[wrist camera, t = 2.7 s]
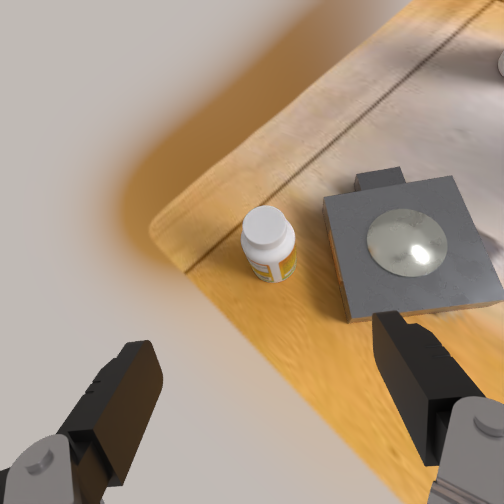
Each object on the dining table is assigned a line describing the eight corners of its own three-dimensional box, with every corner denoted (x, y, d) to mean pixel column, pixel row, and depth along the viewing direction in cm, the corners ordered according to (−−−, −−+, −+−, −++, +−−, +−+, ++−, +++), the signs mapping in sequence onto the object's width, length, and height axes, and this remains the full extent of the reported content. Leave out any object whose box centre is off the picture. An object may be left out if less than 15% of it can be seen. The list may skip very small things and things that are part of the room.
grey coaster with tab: (316, 191, 38) (318, 175, 35) (432, 171, 37) (443, 153, 34) (346, 323, 31) (350, 318, 28) (489, 306, 30) (510, 298, 27)
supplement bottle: (291, 237, 36) (287, 192, 27) (301, 278, 34) (300, 243, 25) (248, 246, 37) (230, 205, 28) (255, 288, 34) (239, 257, 26)
